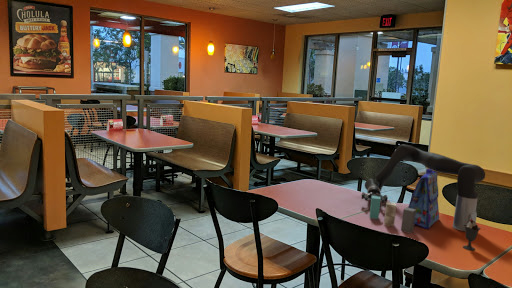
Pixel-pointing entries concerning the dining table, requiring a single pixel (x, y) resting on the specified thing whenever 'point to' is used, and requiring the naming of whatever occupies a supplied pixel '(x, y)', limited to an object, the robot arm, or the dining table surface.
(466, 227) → the sundae
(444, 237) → the dining table surface
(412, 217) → the charcoal block
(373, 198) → the teal block
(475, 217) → the robot arm
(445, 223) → the dining table surface
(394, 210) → the tan block
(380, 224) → the dining table surface
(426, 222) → the lunch bag
